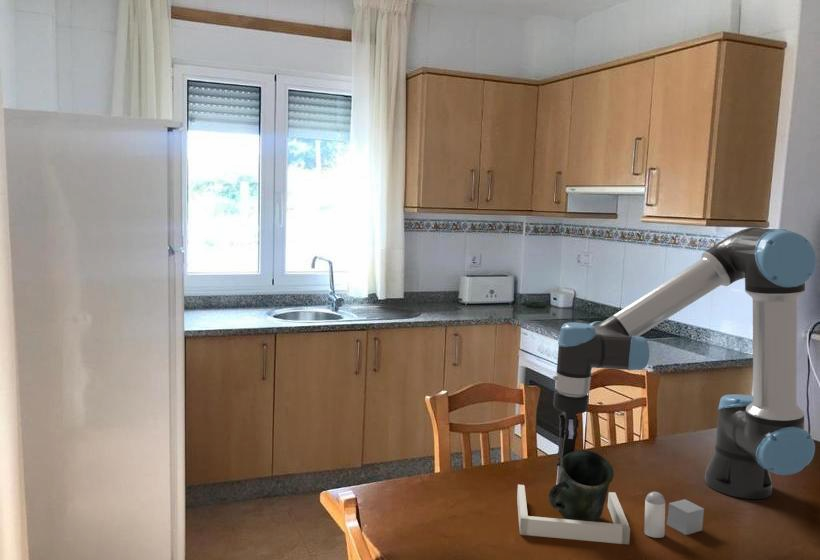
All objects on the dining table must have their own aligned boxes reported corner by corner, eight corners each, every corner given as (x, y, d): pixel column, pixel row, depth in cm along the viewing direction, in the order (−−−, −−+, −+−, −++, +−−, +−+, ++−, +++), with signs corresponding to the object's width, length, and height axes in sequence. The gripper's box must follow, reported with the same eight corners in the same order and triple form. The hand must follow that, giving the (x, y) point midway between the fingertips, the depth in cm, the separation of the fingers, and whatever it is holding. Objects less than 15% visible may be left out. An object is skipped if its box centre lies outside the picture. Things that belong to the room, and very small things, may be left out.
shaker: (651, 528, 146) (652, 487, 146) (668, 534, 143) (669, 493, 142) (640, 533, 144) (641, 491, 143) (657, 539, 140) (658, 497, 140)
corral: (614, 507, 155) (615, 492, 155) (628, 544, 139) (630, 528, 138) (517, 498, 158) (517, 484, 157) (519, 534, 141) (520, 518, 141)
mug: (614, 515, 149) (625, 476, 142) (562, 540, 142) (570, 500, 136) (581, 481, 157) (590, 443, 151) (530, 504, 151) (537, 465, 145)
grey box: (701, 530, 146) (704, 508, 145) (685, 535, 144) (687, 513, 143) (682, 520, 150) (684, 499, 150) (666, 525, 148) (668, 503, 147)
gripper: (552, 382, 159) (543, 477, 162) (556, 399, 146) (547, 502, 149) (585, 385, 158) (575, 481, 161) (592, 402, 145) (581, 506, 149)
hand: (561, 491), depth 155 cm, fingers closed
